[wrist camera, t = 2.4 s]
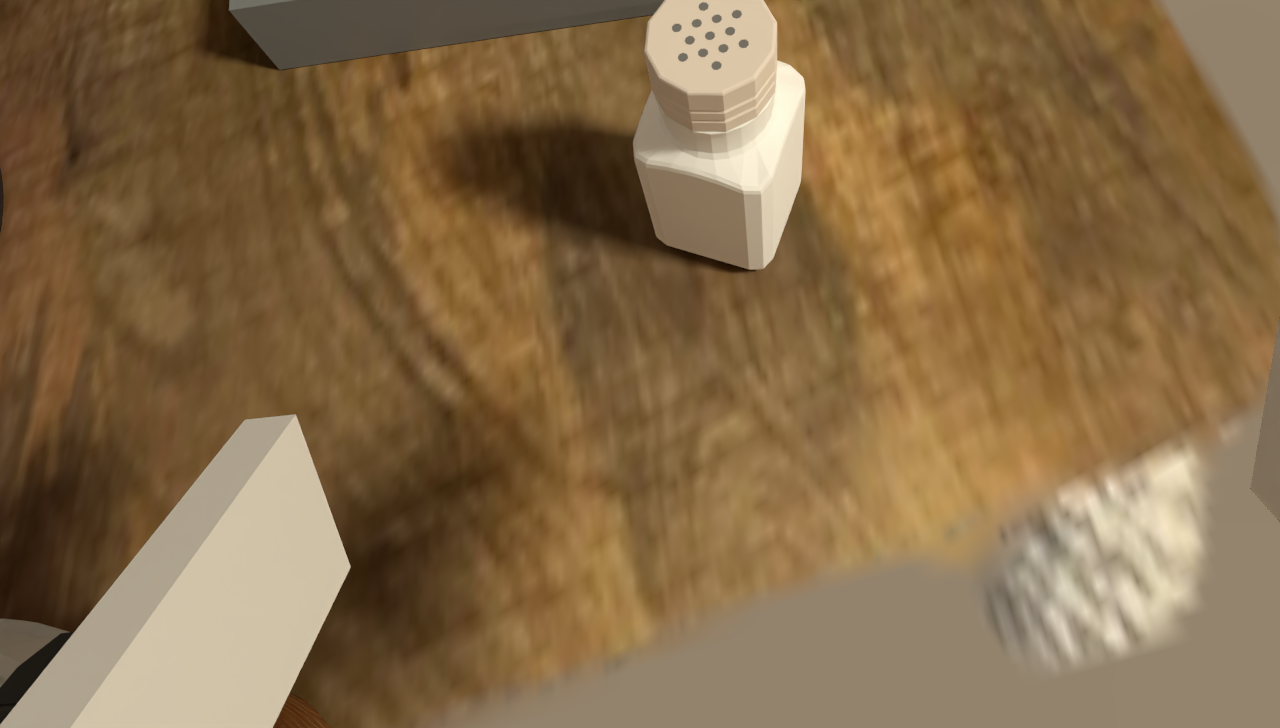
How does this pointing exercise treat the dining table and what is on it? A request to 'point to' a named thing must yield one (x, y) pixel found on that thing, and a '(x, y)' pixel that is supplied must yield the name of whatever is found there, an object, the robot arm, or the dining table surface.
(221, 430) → the dining table surface
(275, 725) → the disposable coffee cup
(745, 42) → the pepper shaker
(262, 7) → the box
